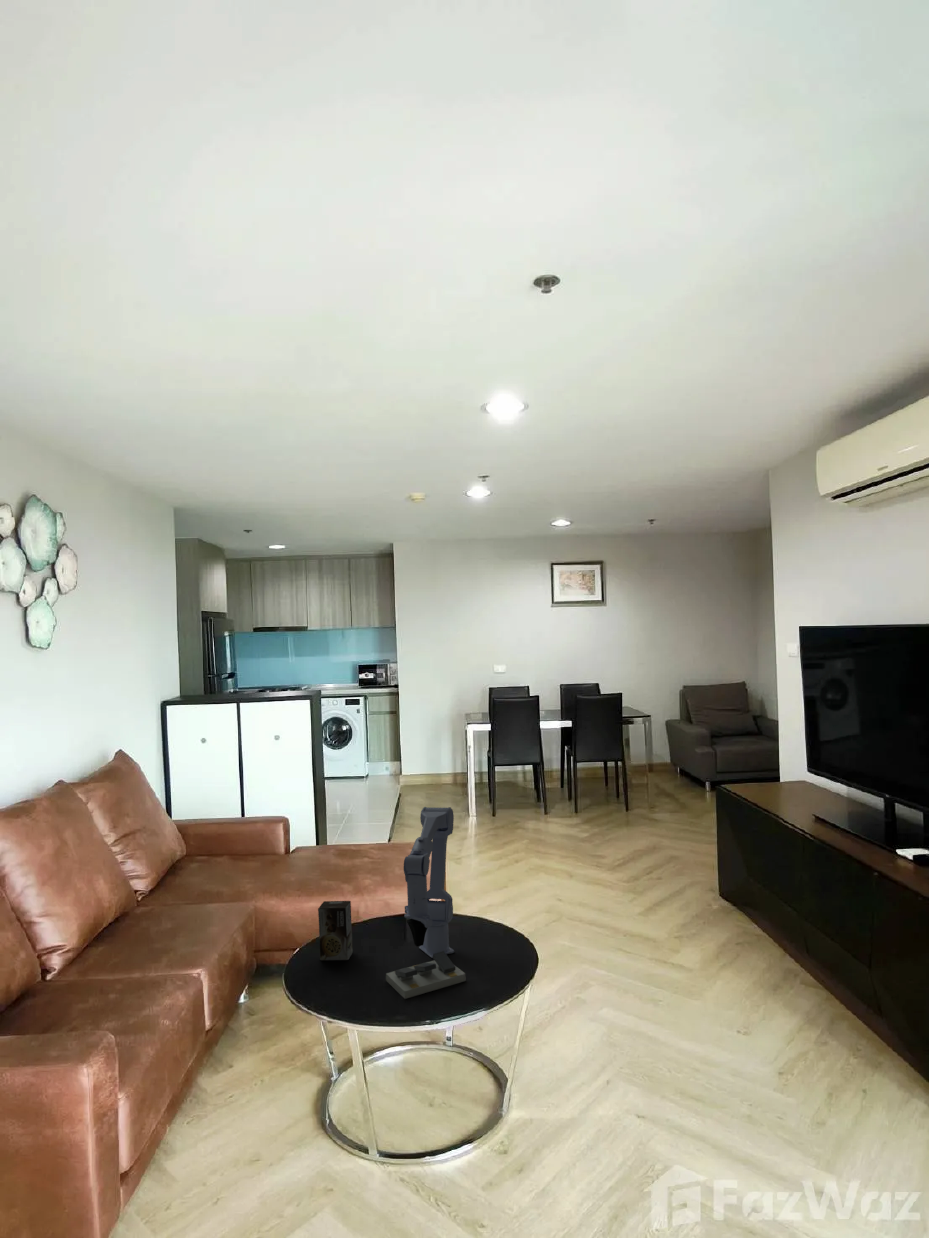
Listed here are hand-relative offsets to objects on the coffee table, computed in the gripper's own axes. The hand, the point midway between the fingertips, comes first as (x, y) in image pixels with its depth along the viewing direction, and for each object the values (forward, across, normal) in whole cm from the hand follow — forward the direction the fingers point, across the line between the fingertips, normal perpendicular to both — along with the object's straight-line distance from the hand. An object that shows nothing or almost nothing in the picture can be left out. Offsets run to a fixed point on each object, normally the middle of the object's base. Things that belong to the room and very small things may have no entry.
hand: (419, 945), depth 204 cm
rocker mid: (+6, +2, +1) cm, 6 cm away
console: (+10, +2, +1) cm, 10 cm away
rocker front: (+6, +2, -5) cm, 8 cm away
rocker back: (+6, +2, +7) cm, 9 cm away
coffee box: (+10, -29, -15) cm, 34 cm away
